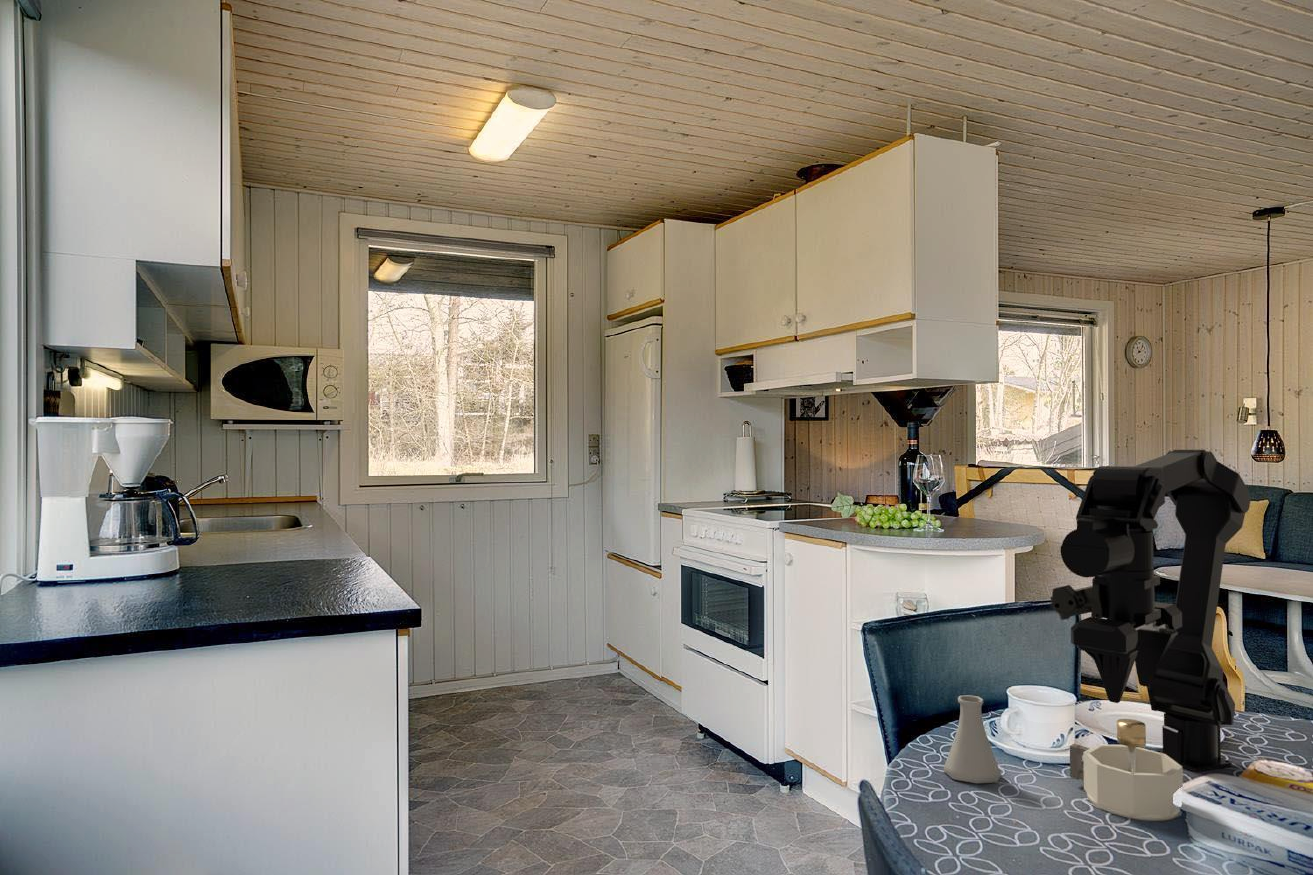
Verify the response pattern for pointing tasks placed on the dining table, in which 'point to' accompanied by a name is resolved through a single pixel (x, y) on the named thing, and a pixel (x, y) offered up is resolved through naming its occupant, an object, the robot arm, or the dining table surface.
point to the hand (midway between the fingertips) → (1129, 693)
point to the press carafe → (1128, 781)
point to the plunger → (1131, 738)
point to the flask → (971, 746)
